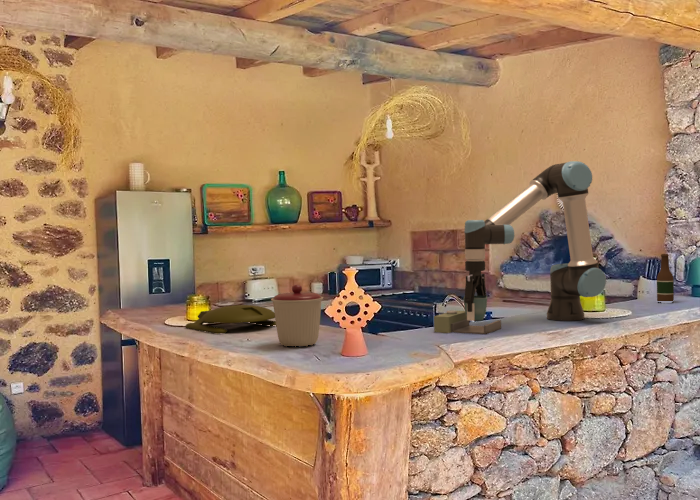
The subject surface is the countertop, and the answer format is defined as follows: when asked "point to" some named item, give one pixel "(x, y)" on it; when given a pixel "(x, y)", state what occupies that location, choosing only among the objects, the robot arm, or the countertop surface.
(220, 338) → the countertop surface
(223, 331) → the spaceship
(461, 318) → the olive stepped block
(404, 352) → the countertop surface
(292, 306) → the canister
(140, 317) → the countertop surface
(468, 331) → the chute
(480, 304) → the flower pot
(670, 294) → the beer bottle
